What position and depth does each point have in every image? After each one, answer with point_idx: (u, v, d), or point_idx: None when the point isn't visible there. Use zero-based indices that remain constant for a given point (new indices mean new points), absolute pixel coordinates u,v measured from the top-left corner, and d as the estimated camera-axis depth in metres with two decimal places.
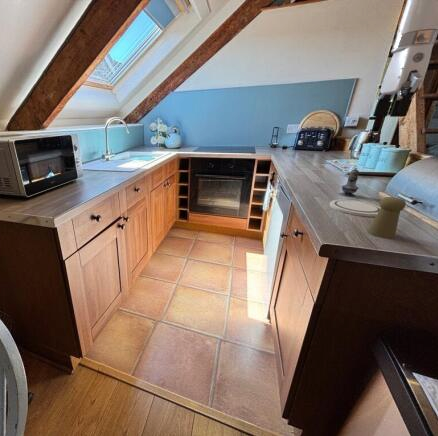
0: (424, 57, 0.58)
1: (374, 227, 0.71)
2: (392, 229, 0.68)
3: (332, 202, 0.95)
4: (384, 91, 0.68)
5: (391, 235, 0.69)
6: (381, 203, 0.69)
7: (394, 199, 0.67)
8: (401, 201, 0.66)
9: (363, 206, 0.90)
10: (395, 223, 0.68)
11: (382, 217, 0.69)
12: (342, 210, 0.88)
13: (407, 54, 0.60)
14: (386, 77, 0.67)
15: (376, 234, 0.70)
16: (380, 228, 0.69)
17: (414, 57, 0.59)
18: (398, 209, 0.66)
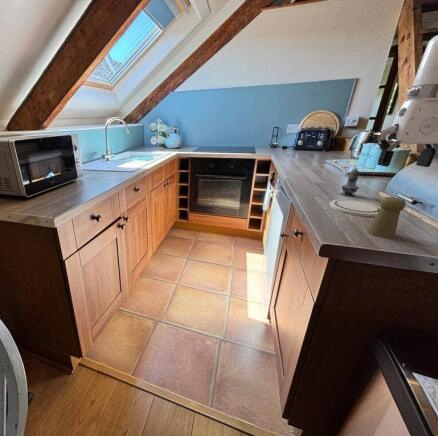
0: (406, 112, 0.59)
1: (374, 227, 0.71)
2: (392, 229, 0.68)
3: (332, 202, 0.95)
4: None
5: (391, 235, 0.69)
6: (381, 203, 0.69)
7: (394, 199, 0.67)
8: (401, 201, 0.66)
9: (363, 206, 0.90)
10: (395, 223, 0.68)
11: (382, 217, 0.69)
12: (342, 210, 0.88)
13: None
14: None
15: (376, 234, 0.70)
16: (380, 228, 0.69)
17: None
18: (398, 209, 0.66)
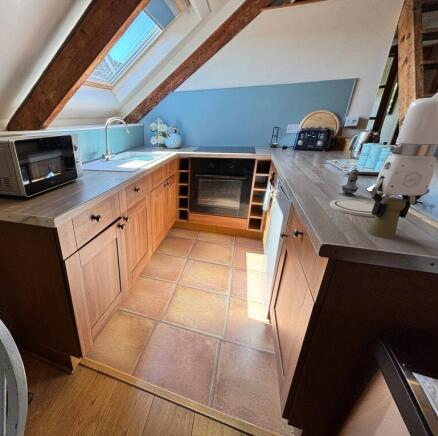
0: (391, 167, 0.64)
1: (374, 227, 0.71)
2: (392, 229, 0.68)
3: (332, 202, 0.95)
4: None
5: (391, 235, 0.69)
6: None
7: (394, 199, 0.67)
8: (401, 201, 0.66)
9: (363, 206, 0.90)
10: (395, 223, 0.68)
11: (382, 217, 0.69)
12: (342, 210, 0.88)
13: None
14: None
15: (376, 234, 0.70)
16: (380, 228, 0.69)
17: None
18: (398, 209, 0.66)
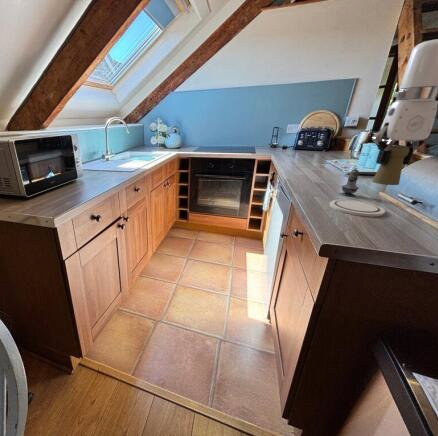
0: (395, 112, 0.66)
1: (379, 176, 0.73)
2: (396, 175, 0.71)
3: (332, 202, 0.95)
4: None
5: (395, 182, 0.71)
6: None
7: (398, 146, 0.69)
8: (405, 147, 0.68)
9: (363, 206, 0.90)
10: (399, 170, 0.70)
11: (387, 164, 0.71)
12: (342, 210, 0.88)
13: None
14: None
15: (381, 182, 0.73)
16: (385, 176, 0.72)
17: None
18: (402, 155, 0.69)
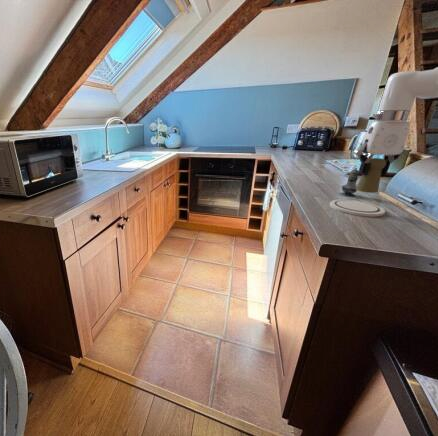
0: (373, 130, 0.77)
1: (361, 184, 0.84)
2: (375, 184, 0.82)
3: (332, 202, 0.95)
4: None
5: (374, 190, 0.82)
6: None
7: (376, 159, 0.80)
8: (382, 160, 0.80)
9: (363, 206, 0.90)
10: (377, 179, 0.81)
11: (367, 175, 0.82)
12: (342, 210, 0.88)
13: None
14: None
15: (362, 190, 0.84)
16: (365, 185, 0.83)
17: None
18: (380, 167, 0.80)
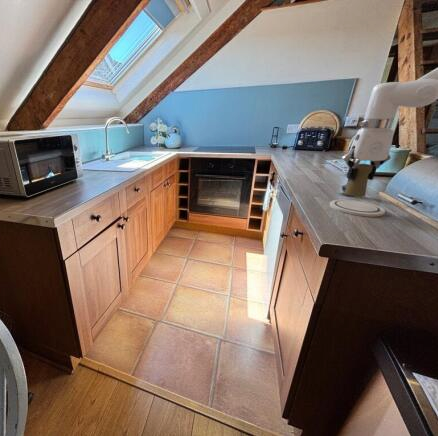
0: (359, 138, 0.81)
1: (349, 188, 0.88)
2: (362, 189, 0.86)
3: (332, 202, 0.95)
4: None
5: (362, 194, 0.86)
6: None
7: (363, 164, 0.84)
8: (368, 166, 0.84)
9: (363, 206, 0.90)
10: (364, 184, 0.85)
11: (355, 179, 0.86)
12: (342, 210, 0.88)
13: None
14: None
15: (350, 194, 0.88)
16: (353, 189, 0.87)
17: None
18: (366, 172, 0.84)
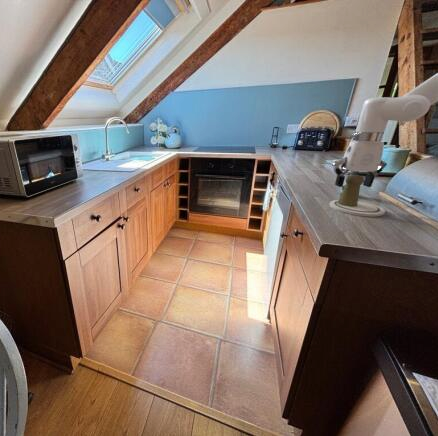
0: (351, 150, 0.84)
1: (341, 198, 0.91)
2: (354, 199, 0.89)
3: (332, 202, 0.95)
4: None
5: (354, 204, 0.89)
6: (346, 179, 0.89)
7: (355, 176, 0.87)
8: (360, 177, 0.87)
9: (363, 206, 0.90)
10: (356, 194, 0.89)
11: (347, 190, 0.89)
12: (342, 210, 0.88)
13: None
14: None
15: (343, 204, 0.91)
16: (345, 199, 0.90)
17: None
18: (358, 183, 0.87)
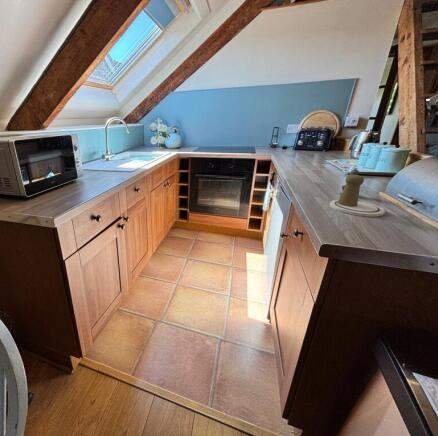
0: None
1: (341, 198, 0.91)
2: (354, 199, 0.89)
3: (332, 202, 0.95)
4: None
5: (354, 204, 0.89)
6: (346, 179, 0.89)
7: (355, 176, 0.87)
8: (360, 177, 0.87)
9: (363, 206, 0.90)
10: (356, 194, 0.89)
11: (347, 190, 0.89)
12: (342, 210, 0.88)
13: None
14: None
15: (343, 204, 0.91)
16: (345, 199, 0.90)
17: None
18: (358, 183, 0.87)
